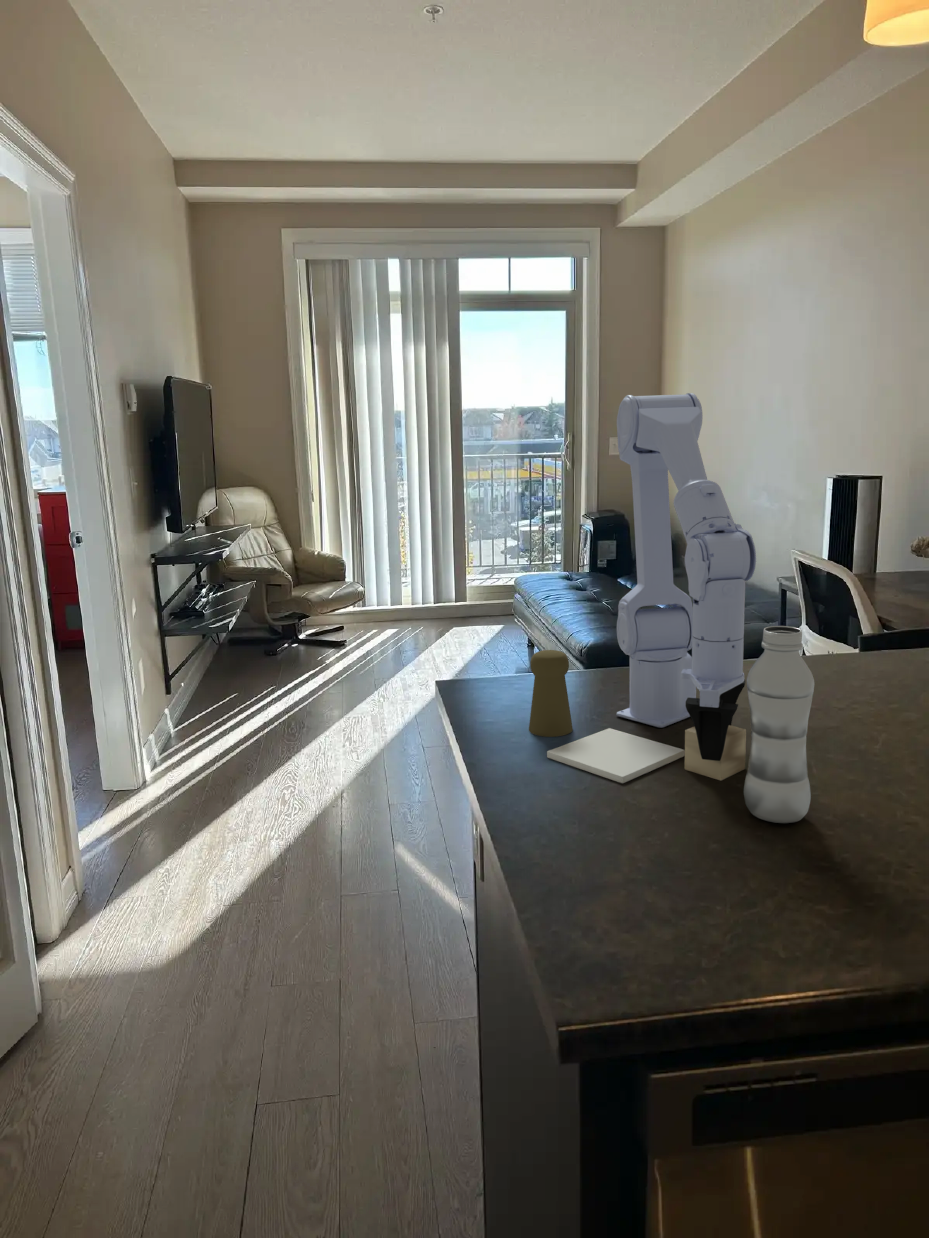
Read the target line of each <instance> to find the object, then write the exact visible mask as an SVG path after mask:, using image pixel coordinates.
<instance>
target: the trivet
mask: <svg viewBox="0 0 929 1238" xmlns="http://www.w3.org/2000/svg"><path fill="white" fill-rule="evenodd" d="M546 757H547V758H548V759H550V760H554V761H556V762H560V763H563V764H565V765H568V766H570V767H573V768H577V769H580V770H583V771H586V772H589V773H592V774H594V775H597V776H600V777H603V778H606V779H607V780H608V779H609V780H612V781H614V782H617V783H619V784H625V783H627V782H629V781H631V780H634V779H636V778H639V777H640V776H642V775H645V774H648V773H649V772H651V771H654V770H656V769H658V768H661V767H663V766H665V765H668V764H669V763H672V762H674V761H677V760H679V759H681V758H683V757H684V758H685V749H682V748H679V747H677V746H672V745H669V744H665V743H662V742H658V741H657V740H656V741H655V740H651V739H649V738H645V737H642V736H637V735H635V734H630V733H627V732H624V731H620V730H617V729H613V728H611V727H608V728H605V729H604V730H601V731H598V732H595V733H593V734H590V735H587V736H585V737H581V738H579V739H577V740H574V741H572V742H569V743H566V744H563V745H561V746H559V747H555V748H553V749H549V750H547V751H546Z"/></svg>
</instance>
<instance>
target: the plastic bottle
mask: <svg viewBox="0 0 929 1238" xmlns="http://www.w3.org/2000/svg"><path fill="white" fill-rule="evenodd" d="M802 641H803V630H802V629H801V628H799V627H795V626H786V625H770V626H767V627H764V628H763V633H762V640H761V648H762V649H764V650H763V652H762V654H761V655H760V656H759V657H758V658H757V659H756V660H755V662H754V663H753V665H752V666H751V667H750V669H749V672H748V674H747V677H746V688H747V697H748V704H749V712H750V729H751V732H750V736H751V737H750V738H751V739H750V741H751V742H750V751H749V759H748V766H747V767H748V769H747V770H746V775H745V778H744V779H745V780H744V786H743V790H742V791H743V797H744V802H745V805H746V807H747V809H748V811H749V812H750V813H751V815H753V816H754V817H756V818H757V819H760V820H763V821H766V822H769V823H776V824H777V823H778V824H789V823H797V822H799V821H801V820H802V819H803V818H804V817H805V816H806V815H807V813H808V812H809V810H810V804H811V798H812V797H811V796H812V795H811V786H810V785H811V784H810V781H809V776H808V762H807V738H808V737H807V734H808V727H809V726H808V724H809V717H810V714H811V713H810V711H811V708H812V701H813V697H814V691H815V690H814V689H815V679H814V677H813V676H814V675H813V672H812V671H811V670H810V667H808V664H807V663H806V661H805V660H804V659H803V657H802V656H801V654H800V651H802V650H803V646H804V645H803V642H802Z"/></svg>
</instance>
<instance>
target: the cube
mask: <svg viewBox="0 0 929 1238" xmlns="http://www.w3.org/2000/svg"><path fill="white" fill-rule="evenodd" d="M746 741H747V729H746V728H741V727H738V726H734V725H732V724H731V725H729V726H728V730H727V734H726V740H725V745H724V750H723V754H722V757H721V760H720V761H714V760H704V759H702V757H701V754H700V750H699V744H698V739H697V734H696V730H695V726H692V727H689V728H687V729H685V730H684V750H685V756H684V770H686V771H689V772H692V773H696V774H698V775H701V776H705V777H709V778H711V779H715V780H718V781H720V782H721V781H723V780H725V779H727V778H730V777H731V776H733V775H735V774H737V773H739V772H742V771H744V770H745V769H746V752H747V751H746V749H747V748H746V747H747V746H746V745H747V744H746V743H747V742H746Z"/></svg>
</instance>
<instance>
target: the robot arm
mask: <svg viewBox="0 0 929 1238" xmlns="http://www.w3.org/2000/svg"><path fill="white" fill-rule="evenodd" d="M702 425H703V408H702V404H701V401H700V400H699V398H698V396H697V395H696V394H695V393H693V392H687V393H685V394H661V395H660V394H659V395H633V394H627V395H625V396H624V397H623V399H622V400H621V401H620V403H619V406H618V410H617V415H616V430H617V431H616V435H617V450H618V451H617V452H618V454H619V456H618V457H619V460H620V461H622V462H624V463H626V464H627V465H629V466H630V473H631V474H630V475H631V485H632V503H633V519H634V520H633V521H634V522H633V523H634V541H635V560H636V561H635V562H636V579H637V580H636V581H637V584H636V585H635V586H634V587H633V588H632V589H631V590H630V591H628V592H627V593H626V594H625V595H624V596H622V598H621V599H620V600H619V601H618V604H617V605H618V606H617V607H618V609H617V610H618V614H617V615H618V616H617V620H616V637H617V642H618V645H619V648H620V649H621V651H623V653H624V654H625V655H626V656H627V655H628V656H629V707H627V708H625V709H623V710H619V711H616V716H617V717H619V718H623V719H628V720H630V721H634V722H638V723H640V724H641V723H642V724H644V725H645V724H646V725H649V726H653V727H655V728H665V727H667V726H670V725H672V724H674V723H675V724H676V723H677V722H680V721H682V720H685V719H688V718H691V721H692V723H693V725H694V726H695V730H696V734H697V739H698V744H699V750H700V754H701V757H702V759H704V760H714V761H720V760H721V757H722V754H723V750H724V745H725V740H726V734H727V730H728V726H729V725H731V726H732V723H733V719H734V715H735V714H736V712H737V711H738V710H737V709H738V708H739V704H738V703H737V701H738V698H739V697H740V694H741V692H742V691H743V689H744V688H745V685H746V679H745V673H744V671H743V670H744V639H745V638H744V635H745V605H746V600H745V598H746V582H747V581H750V580H751V578H752V577H753V575H754V573H755V571H756V564H757V552H756V545H755V543H754V540H753V536H752V534H751V533H750V532H749V530H746V529H744V528H743V527H742V525H741V524H739V523H737V524H736V523H735V521H734V518H733V516H732V514H731V512H730V508H729V507H728V504H727V501H726V497H725V496H724V494H723V491H722V489H721V486H720V485H719V484H718V483H717V482H715V481H712V480H708V476H707V472H706V469H705V465H704V462H703V458H702V453H701V450H700V446H699V443H698V441H699V437H700V433H701V429H702ZM669 474H670V476H671V478H672V480H673V482H674V485H675V486H676V489H677V493H676V494H675V496H674V498H673V507H674V510H675V514H676V516H677V519H678V521H679V524H680V527H681V530H682V533H683V535H684V536H683V537H684V539H685V542H686V548H685V555H684V566H685V571H686V574H687V581H688V592H689V593H688V594H687V593H686V592H684V591H683V590H681V589H680V588H679V587H677V585H675V583H674V570H673V569H674V568H673V550H672V546H673V545H672V529H671V528H672V526H671V512H670V511H671V510H670V509H671V508H670V492H669V491H670V489H669V487H670V486H669ZM660 605H661V606H663V605H664V606H665V605H670V606H671V607H656V608H642V609H641V607H646V606H647V607H649V606H660ZM690 650H691V654H690V653H689V652H688V651H690ZM697 690H698V691H699V697H697ZM694 726H693V727H694Z"/></svg>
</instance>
